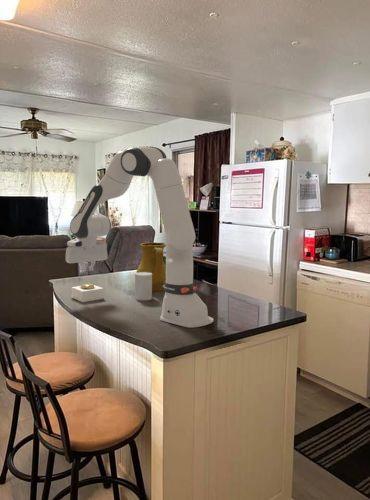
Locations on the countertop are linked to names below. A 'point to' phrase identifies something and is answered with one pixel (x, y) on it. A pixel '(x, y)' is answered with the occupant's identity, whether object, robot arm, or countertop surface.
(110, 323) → the countertop surface
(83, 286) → the brass dome knob
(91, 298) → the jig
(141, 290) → the white cylinder
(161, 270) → the pitcher
